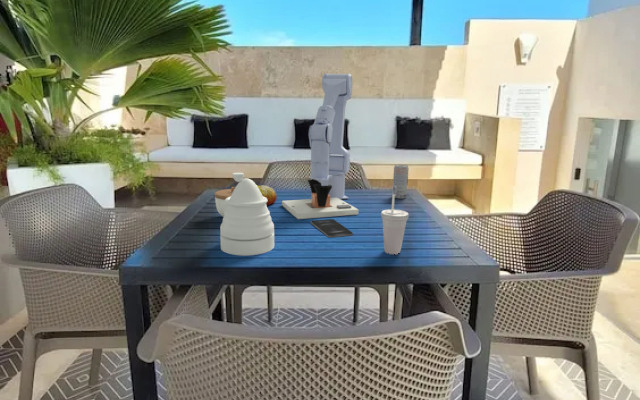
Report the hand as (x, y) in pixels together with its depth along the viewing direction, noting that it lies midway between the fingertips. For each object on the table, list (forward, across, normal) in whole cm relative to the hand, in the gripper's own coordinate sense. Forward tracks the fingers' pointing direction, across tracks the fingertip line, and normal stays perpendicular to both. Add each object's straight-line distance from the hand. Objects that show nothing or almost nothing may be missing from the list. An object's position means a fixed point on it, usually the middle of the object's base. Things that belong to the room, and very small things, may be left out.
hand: (319, 203), depth 140 cm
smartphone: (+3, -21, +2) cm, 22 cm away
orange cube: (+2, 0, 0) cm, 2 cm away
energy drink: (+2, +14, -34) cm, 37 cm away
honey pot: (+2, -32, +25) cm, 41 cm away
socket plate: (+2, 0, 0) cm, 2 cm away
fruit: (+2, +12, +18) cm, 21 cm away
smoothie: (+2, -42, -8) cm, 43 cm away
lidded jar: (+2, -5, +28) cm, 28 cm away
